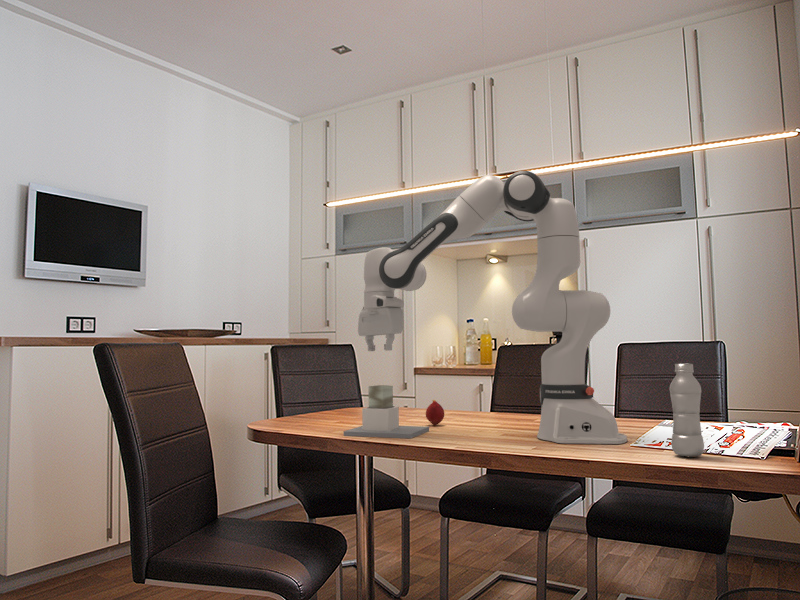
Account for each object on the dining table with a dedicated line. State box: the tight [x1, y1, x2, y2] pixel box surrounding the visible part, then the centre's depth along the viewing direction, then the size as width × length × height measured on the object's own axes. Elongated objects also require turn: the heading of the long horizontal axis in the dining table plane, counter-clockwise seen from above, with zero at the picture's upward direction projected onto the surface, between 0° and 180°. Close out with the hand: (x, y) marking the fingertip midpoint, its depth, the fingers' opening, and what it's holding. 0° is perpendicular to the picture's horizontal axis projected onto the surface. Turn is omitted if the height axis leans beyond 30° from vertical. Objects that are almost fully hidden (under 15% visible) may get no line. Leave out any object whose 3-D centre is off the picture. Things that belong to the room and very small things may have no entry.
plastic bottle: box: [669, 363, 705, 458], centre depth 135 cm, size 6×7×20 cm
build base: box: [343, 405, 430, 439], centre depth 177 cm, size 20×16×7 cm
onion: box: [425, 399, 445, 427], centre depth 193 cm, size 6×6×8 cm
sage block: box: [368, 384, 394, 408], centre depth 179 cm, size 5×5×6 cm
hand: (379, 350), depth 179 cm, fingers open, 8 cm apart
